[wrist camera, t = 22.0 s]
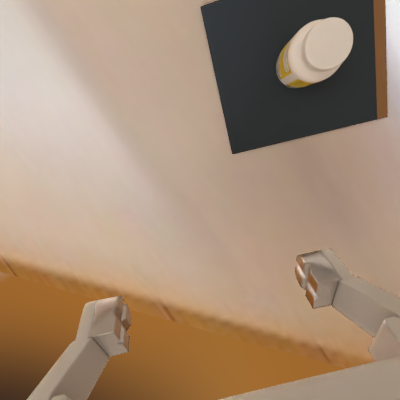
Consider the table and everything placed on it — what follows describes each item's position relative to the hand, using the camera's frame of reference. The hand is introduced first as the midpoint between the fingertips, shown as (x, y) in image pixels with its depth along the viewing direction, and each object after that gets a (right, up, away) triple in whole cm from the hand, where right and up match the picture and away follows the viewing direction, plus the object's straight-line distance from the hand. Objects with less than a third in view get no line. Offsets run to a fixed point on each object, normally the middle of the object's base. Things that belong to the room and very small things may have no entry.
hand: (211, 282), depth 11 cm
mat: (+11, +21, +19) cm, 31 cm away
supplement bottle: (+12, +21, +19) cm, 31 cm away
